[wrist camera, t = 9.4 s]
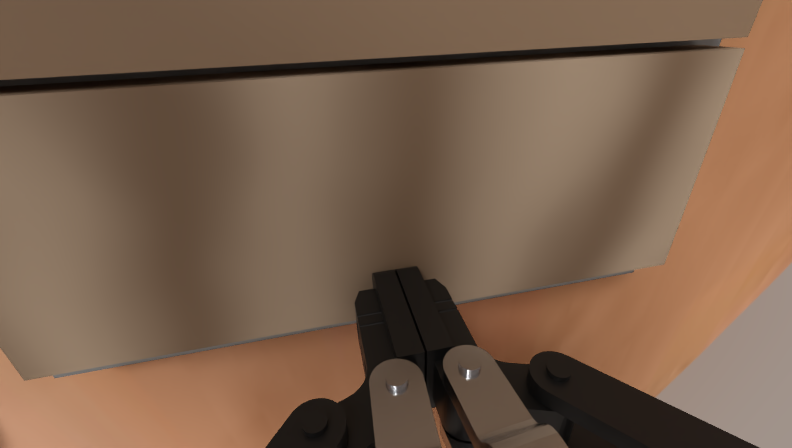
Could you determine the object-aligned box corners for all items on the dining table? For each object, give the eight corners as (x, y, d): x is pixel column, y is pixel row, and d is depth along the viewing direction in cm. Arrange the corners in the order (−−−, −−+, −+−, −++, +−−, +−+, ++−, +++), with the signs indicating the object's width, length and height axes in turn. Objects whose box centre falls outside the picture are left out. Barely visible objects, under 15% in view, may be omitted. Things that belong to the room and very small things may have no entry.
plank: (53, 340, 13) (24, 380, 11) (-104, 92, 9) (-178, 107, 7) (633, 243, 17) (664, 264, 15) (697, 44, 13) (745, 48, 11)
